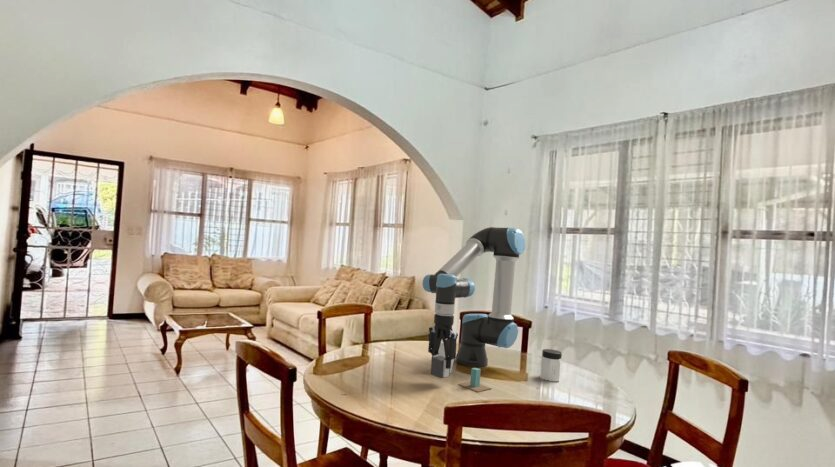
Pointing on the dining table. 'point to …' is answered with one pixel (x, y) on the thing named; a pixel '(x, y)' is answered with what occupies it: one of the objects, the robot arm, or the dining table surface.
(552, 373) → the jar
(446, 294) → the robot arm
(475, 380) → the teal post on base
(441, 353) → the cup
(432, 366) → the charcoal cuboid
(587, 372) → the dining table surface
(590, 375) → the dining table surface
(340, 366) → the dining table surface
